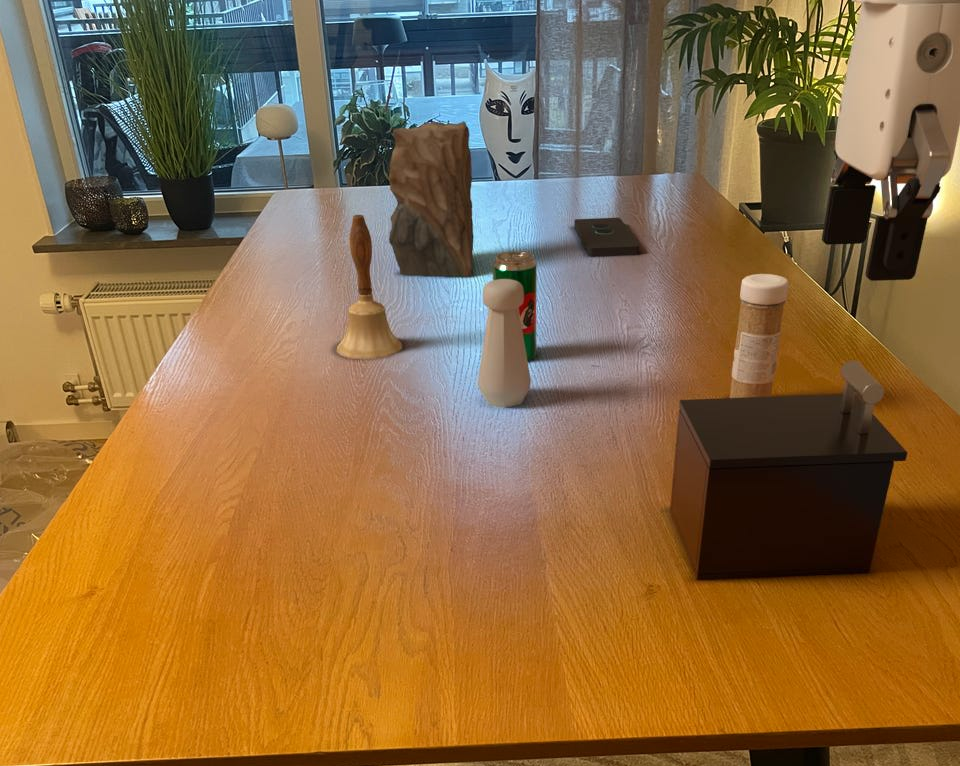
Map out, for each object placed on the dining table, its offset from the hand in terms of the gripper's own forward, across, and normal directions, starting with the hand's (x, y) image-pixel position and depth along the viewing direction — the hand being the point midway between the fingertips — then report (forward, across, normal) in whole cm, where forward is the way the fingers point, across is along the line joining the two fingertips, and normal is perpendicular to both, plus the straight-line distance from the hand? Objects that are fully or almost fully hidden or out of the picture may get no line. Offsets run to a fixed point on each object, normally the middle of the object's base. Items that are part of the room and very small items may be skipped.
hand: (864, 260), depth 72 cm
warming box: (+22, -1, +4) cm, 23 cm away
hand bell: (+23, +51, +41) cm, 69 cm away
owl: (+23, +86, +32) cm, 94 cm away
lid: (+13, -1, +4) cm, 13 cm away
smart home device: (+22, +100, +5) cm, 102 cm away
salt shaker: (+23, +32, +25) cm, 46 cm away
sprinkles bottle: (+22, +28, -1) cm, 36 cm away
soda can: (+23, +46, +23) cm, 56 cm away
